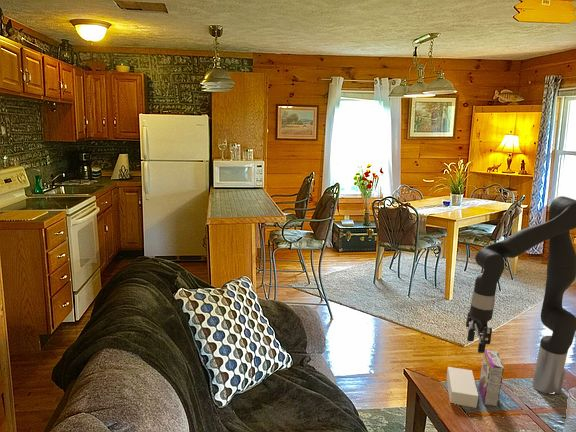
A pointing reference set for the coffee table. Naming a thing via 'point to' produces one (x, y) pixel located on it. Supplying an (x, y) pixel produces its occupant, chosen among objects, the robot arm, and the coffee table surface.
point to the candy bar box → (491, 377)
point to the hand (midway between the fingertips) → (475, 346)
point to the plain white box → (462, 387)
